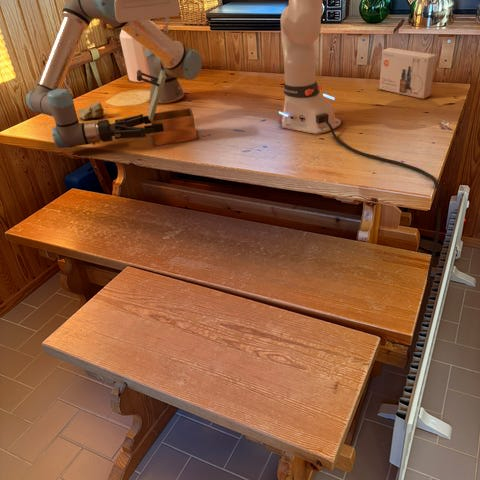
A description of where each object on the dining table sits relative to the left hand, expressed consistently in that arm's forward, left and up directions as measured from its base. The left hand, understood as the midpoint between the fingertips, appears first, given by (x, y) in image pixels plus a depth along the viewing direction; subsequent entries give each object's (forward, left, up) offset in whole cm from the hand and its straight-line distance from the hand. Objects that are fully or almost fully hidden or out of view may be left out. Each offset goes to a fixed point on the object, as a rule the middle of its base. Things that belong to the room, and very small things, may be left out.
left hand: (162, 122), depth 166 cm
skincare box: (-10, +98, -6) cm, 99 cm away
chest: (0, +4, -6) cm, 7 cm away
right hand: (0, +2, +29) cm, 29 cm away
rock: (-37, -29, -6) cm, 48 cm away
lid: (0, 0, +10) cm, 10 cm away
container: (-91, -4, -6) cm, 91 cm away
